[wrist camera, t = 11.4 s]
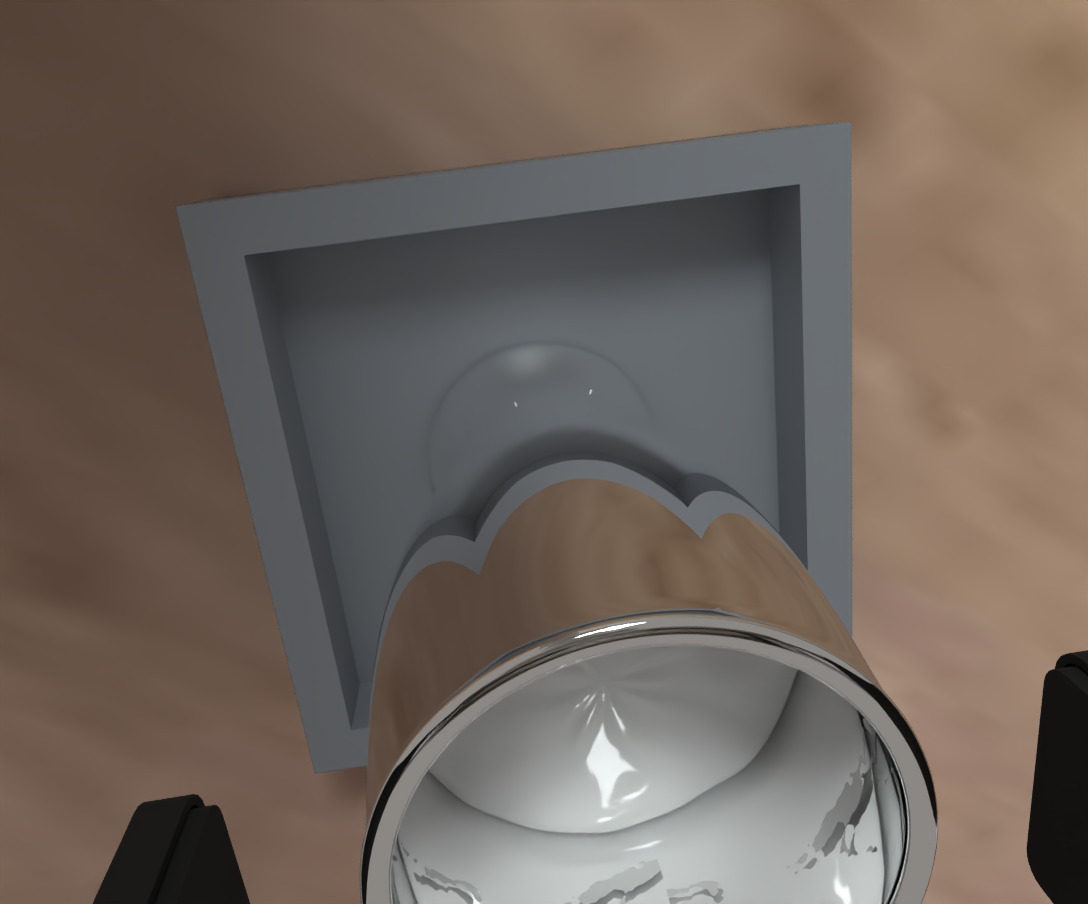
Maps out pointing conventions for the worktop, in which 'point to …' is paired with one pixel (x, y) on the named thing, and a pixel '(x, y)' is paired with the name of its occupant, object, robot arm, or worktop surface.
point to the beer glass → (620, 678)
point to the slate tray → (514, 319)
